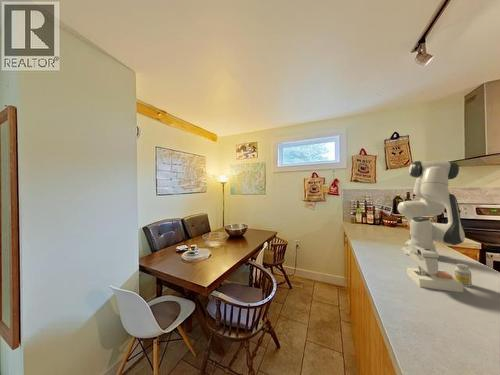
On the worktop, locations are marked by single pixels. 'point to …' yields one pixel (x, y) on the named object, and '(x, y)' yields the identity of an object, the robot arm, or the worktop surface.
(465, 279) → the supplement bottle
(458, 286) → the console
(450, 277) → the terracotta key
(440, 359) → the worktop surface
